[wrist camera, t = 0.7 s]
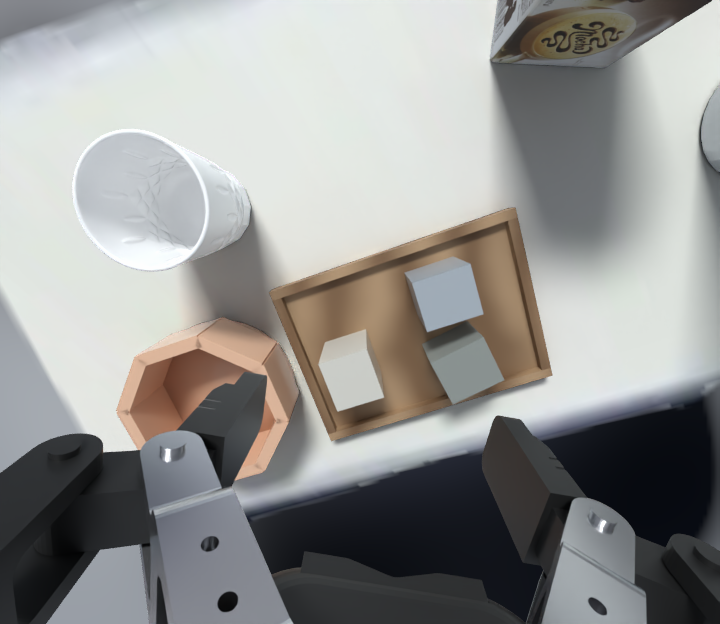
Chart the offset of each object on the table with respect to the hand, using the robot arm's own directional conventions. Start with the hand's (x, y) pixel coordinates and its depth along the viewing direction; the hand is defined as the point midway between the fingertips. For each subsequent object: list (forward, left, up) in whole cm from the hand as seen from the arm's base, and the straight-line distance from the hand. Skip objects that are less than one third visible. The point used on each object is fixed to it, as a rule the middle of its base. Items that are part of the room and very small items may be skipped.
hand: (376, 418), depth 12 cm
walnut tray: (-3, +5, -20) cm, 21 cm away
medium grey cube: (-6, +8, -20) cm, 22 cm away
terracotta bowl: (+16, +4, -20) cm, 26 cm away
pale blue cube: (-6, +1, -20) cm, 21 cm away
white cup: (+10, -11, -21) cm, 26 cm away
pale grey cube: (+3, +5, -20) cm, 21 cm away
